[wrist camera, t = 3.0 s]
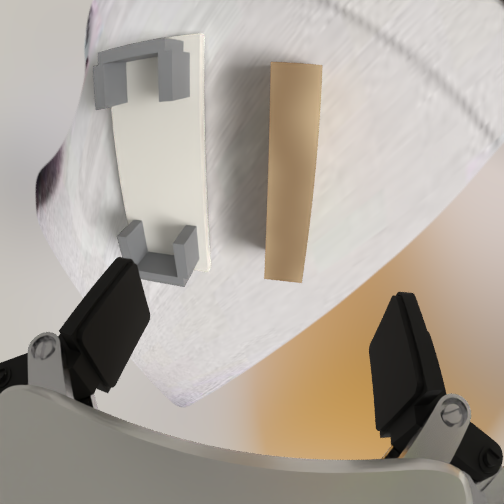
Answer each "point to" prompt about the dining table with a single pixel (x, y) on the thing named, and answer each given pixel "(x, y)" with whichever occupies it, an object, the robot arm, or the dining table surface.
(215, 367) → the dining table surface
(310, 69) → the slat
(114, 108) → the mounting board
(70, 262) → the dining table surface
